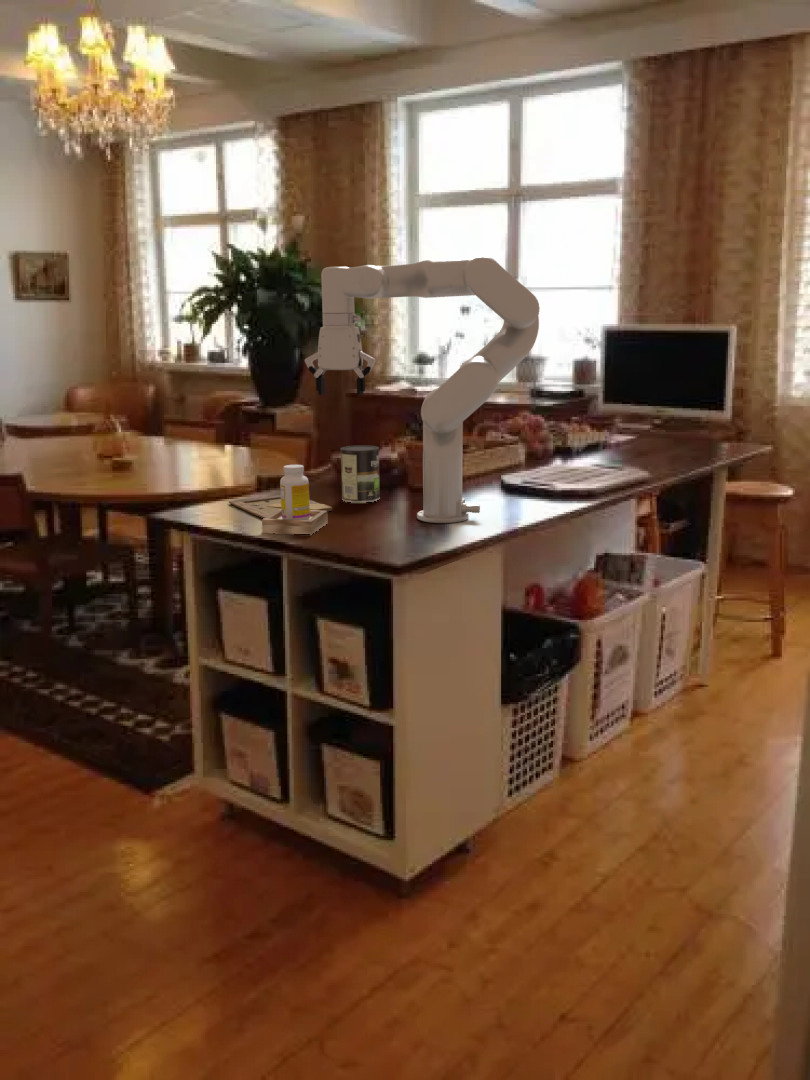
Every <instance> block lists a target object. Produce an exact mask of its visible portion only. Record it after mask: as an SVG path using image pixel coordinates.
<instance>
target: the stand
mask: <svg viewBox="0 0 810 1080" xmlns="http://www.w3.org/2000/svg"><path fill="white" fill-rule="evenodd" d="M328 513H329V512H327V511H323V510H310V518H309V520H288V519H282V511H281V509H279V510H277V511H276V512H274V513H272V514H271V515H269V516H267V517H265V518H264V519H262V518H261V524H262V525H261V526H262V528H261V529H262V531H261V532H262V534H273V533H275V534H276V535H278V534H279V535H294V534H310V535H309V536H313V535H314V534H316V533H317V532H319V531H320V530H321V529H322V527H323V526H324V527H325V526H326V524H327V525H328V524H329V522H328V520H329V518H328V517H329V516H328V515H329V514H328ZM324 527H323V528H324ZM320 528H321V529H320ZM319 529H320V530H319ZM316 531H317V532H316ZM315 532H316V533H315ZM313 533H314V534H313ZM275 534H274V535H275ZM312 534H313V535H312Z"/></svg>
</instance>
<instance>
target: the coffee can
mask: <svg viewBox="0 0 810 1080" xmlns="http://www.w3.org/2000/svg"><path fill="white" fill-rule="evenodd" d="M339 451H340V461H341V462H340V463H341V467H340V468H341V494H342V495H341V500H343V501H342V502H344V501H345V502H344V503H347V502H351V503H350V504H367V503H366V502H372V503H375V502H374V501H376V502H378V501H377V500H379V499H380V500H381V497H380V458H379V457H380V452H379V451H380V447H379V446H376V445H366V444H364V445H363V444H362V445H361V444H360V445H347V446H342V447H340V450H339ZM380 500H379V501H380Z"/></svg>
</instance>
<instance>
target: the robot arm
mask: <svg viewBox="0 0 810 1080" xmlns="http://www.w3.org/2000/svg"><path fill="white" fill-rule="evenodd" d="M320 279H321V300H322V301H321V303H322V304H321V305H322V307H321V308H322V327H320V329H319V334H318V345H317V352H315V353H313V354H310V355H309V356H308V357H306V358H305V359H304V363H305V365H306V367H307V368H308V371H309V372H310V373H311V374H312V375H313V377H314V378H315V388H316V392H317V395H319V396H321V395H324V394H326V381H325V380H326V379H325V377H324V374H325V373H326V371H352V370H353V371H354V372H355V374H356V375H357V378H356V394H357V396H362V395H363V394H364V392H366V377H367V376H368V375H369V373H371V371H372V370H373V367H374V366H375V364H376V358H375V357H372V356H371V355H369V354H367V353H366V352H363V348H362V347H363V346H362V338H361V333H360V328H359V326H356V325H357V323H358V322H359V323H360V322H361V315H357V314H356V313H355V298H362V299H368V300H369V299H370V300H373V299H374V300H375V299H387V298H389V299H390V298H406V297H408V298H409V297H413V298H414V297H415V298H423V299H424V298H425V299H429V298H432V299H433V298H445V297H446V298H449V297H466V296H467V297H470V296H476V297H477V298H478V299H479V300H480V301H481V302H482V303H483V304H485V306H487V307H488V308H489V309H490V310H491V311H493V312H494V313H495V314H496V315H497V316H498V317H500V319H502V320H503V323H502V327H501V328H500V331H499V332H498V333H497V334H495V336H494V337H493V338H491V339H490V341H488V343H487V344H486V345H484V346H483V347H482V348H481V349H480V350H478V351H477V353H476V354H474V355H473V356H472V357H470V358H469V359H468V360H465V361H464V362H463V363H462V364H461V366H460V367H459V368H458V369H457V370H456V371H455V372H454V373H453V374H452V375H451V376H450V377H449V378H447V379H446V380H445V381H444V383H443V382H442V384H441V385H440V386H438V387H437V388H435V389H432V390H431V391H430V392H429V393H427V394H426V396H425V397H424V399H423V402H422V405H421V410H420V416H421V420H422V442H423V443H422V450H423V451H422V489H423V490H422V492H423V494H422V495H423V496H422V499H423V501H422V503H423V504H422V505H423V510H420V511H418V512H416V517H417V519H418V520H419V521H421V522H426V523H433V524H452V523H459V522H464V521H466V520H468V519H469V513H471V514H472V513H473V514H480V512H481V505H480V504H477V503H467V502H466V498H464V497H463V455H464V453H463V449H464V448H463V438H464V437H463V436H464V435H463V431H464V430H463V429H464V424H463V423H464V421H465V420H467V418H469V417H470V416H471V415H472V414H473V413H474V412H475V411H477V410H478V409H479V408H480V407H481V406H482V405H483V404H485V403H486V402H487V401H488V400H489V399H490V398H491V397H492V395H493V394H495V391H496V390H497V387H498V385H499V383H500V382H501V381H502V380H503V379H504V378H505V377H507V375H508V374H510V372H512V371H513V370H514V369H515V368H516V367H517V366H518V365H519V364H520V363H521V362H522V361H523V360H524V359H526V357H527V356H528V354H529V353H530V352H531V351H532V349H533V347H534V346H535V343H536V341H537V338H538V335H539V334H538V333H539V328H540V320H539V319H540V318H539V317H540V316H539V314H540V303H539V300H538V299H537V297H536V296H535V294H534V293H532V291H530V290H529V289H528V288H527V287H525V286H524V285H523V284H522V283H521V282H520V281H518V280H517V279H516V278H515V277H514V276H513V275H511V274H510V273H509V272H508V271H507V269H505V268H504V267H503V266H502V265H500V263H499V262H497V261H496V260H495V258H492V257H491V256H488V255H479V256H476V257H474V256H473V257H461V258H460V257H459V258H439V259H438V258H436V259H435V258H434V259H426V260H422V261H419V262H416V263H415V262H414V263H407V264H394V265H374V264H366V265H365V264H364V265H360V266H353V267H348V266H328V267H324V268H323V269H322V271H321V277H320ZM315 360H317V367H318V368H317V367H316V366H315V365H314V363H313V362H314V361H315ZM363 361H366V362H367V364H366V367H365V368H363V363H364V362H363Z"/></svg>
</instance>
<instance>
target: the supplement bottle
mask: <svg viewBox="0 0 810 1080" xmlns="http://www.w3.org/2000/svg"><path fill="white" fill-rule="evenodd" d="M304 471H305V467H304V465H303V464H287V465H284V466H283V473H284V476H283V477H281V478H280V481H279V485H280V486H279V487H280V495H281V511H282V519H288V520H309V518H310V504H309V500H310V488H309V487H310V486H309V485H310V483H309V478H308V476H306V475H304Z"/></svg>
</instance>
